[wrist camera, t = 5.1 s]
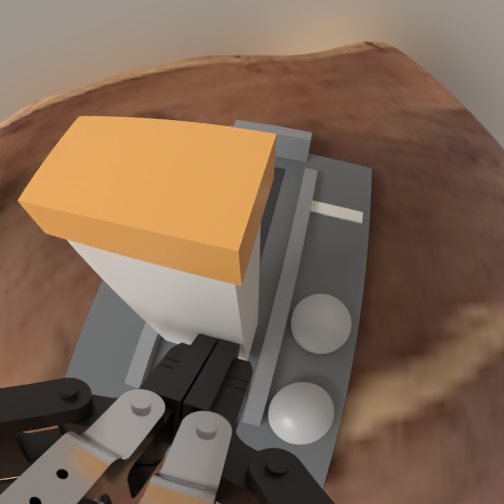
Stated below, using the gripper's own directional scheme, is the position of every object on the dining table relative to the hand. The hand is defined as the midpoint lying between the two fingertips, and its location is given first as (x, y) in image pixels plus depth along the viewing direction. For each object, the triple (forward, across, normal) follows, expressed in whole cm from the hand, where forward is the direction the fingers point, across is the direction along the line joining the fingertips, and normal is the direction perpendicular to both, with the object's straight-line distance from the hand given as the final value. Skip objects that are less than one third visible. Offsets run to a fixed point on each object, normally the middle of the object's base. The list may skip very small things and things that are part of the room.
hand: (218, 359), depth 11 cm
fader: (+3, -1, -1) cm, 4 cm away
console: (+7, -1, 0) cm, 7 cm away
